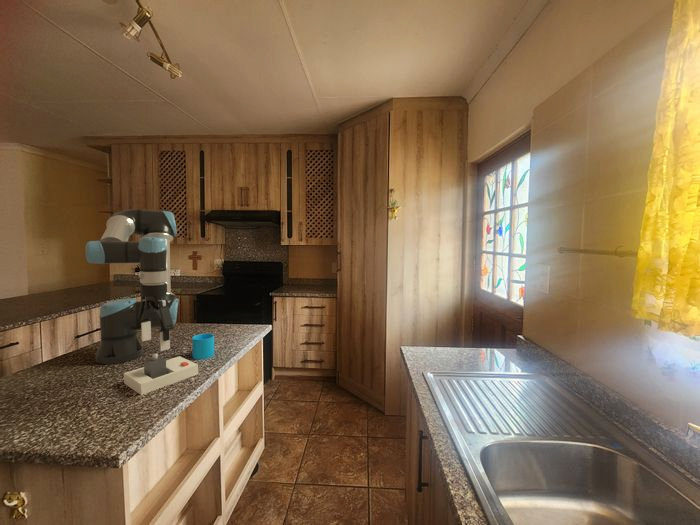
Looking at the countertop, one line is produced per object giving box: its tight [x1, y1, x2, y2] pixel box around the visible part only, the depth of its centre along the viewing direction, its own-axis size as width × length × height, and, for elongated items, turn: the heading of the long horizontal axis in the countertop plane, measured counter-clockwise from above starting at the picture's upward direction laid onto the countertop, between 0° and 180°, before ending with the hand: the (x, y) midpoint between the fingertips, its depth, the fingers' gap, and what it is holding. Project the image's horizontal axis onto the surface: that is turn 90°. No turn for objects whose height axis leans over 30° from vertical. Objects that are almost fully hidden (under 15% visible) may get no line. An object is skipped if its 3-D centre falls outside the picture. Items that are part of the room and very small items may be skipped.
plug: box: [143, 352, 167, 379], centre depth 99 cm, size 5×5×9 cm
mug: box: [191, 333, 215, 360], centre depth 124 cm, size 12×8×8 cm
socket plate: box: [123, 355, 199, 396], centre depth 101 cm, size 13×18×4 cm
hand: (155, 344), depth 99 cm, fingers open, 13 cm apart
